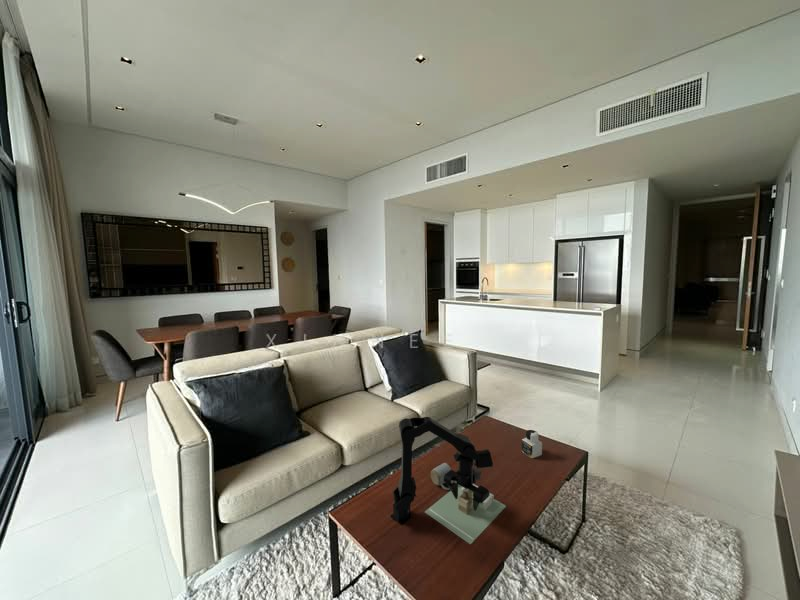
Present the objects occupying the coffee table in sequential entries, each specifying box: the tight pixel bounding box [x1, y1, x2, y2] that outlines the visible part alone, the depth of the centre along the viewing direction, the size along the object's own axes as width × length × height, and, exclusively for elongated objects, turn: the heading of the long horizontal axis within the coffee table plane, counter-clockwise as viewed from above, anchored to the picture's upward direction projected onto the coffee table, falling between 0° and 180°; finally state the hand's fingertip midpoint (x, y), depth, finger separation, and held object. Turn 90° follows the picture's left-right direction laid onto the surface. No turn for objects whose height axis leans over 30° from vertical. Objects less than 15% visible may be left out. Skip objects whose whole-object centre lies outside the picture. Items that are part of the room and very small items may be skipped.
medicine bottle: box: [521, 429, 543, 459], centre depth 171 cm, size 7×7×12 cm
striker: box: [458, 492, 472, 515], centre depth 133 cm, size 4×4×8 cm
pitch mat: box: [424, 485, 507, 545], centre depth 134 cm, size 26×22×1 cm
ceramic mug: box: [430, 462, 452, 491], centre depth 150 cm, size 11×8×8 cm
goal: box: [461, 483, 495, 510], centre depth 140 cm, size 6×12×3 cm, turn 44°
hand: (465, 504), depth 134 cm, fingers open, 9 cm apart
